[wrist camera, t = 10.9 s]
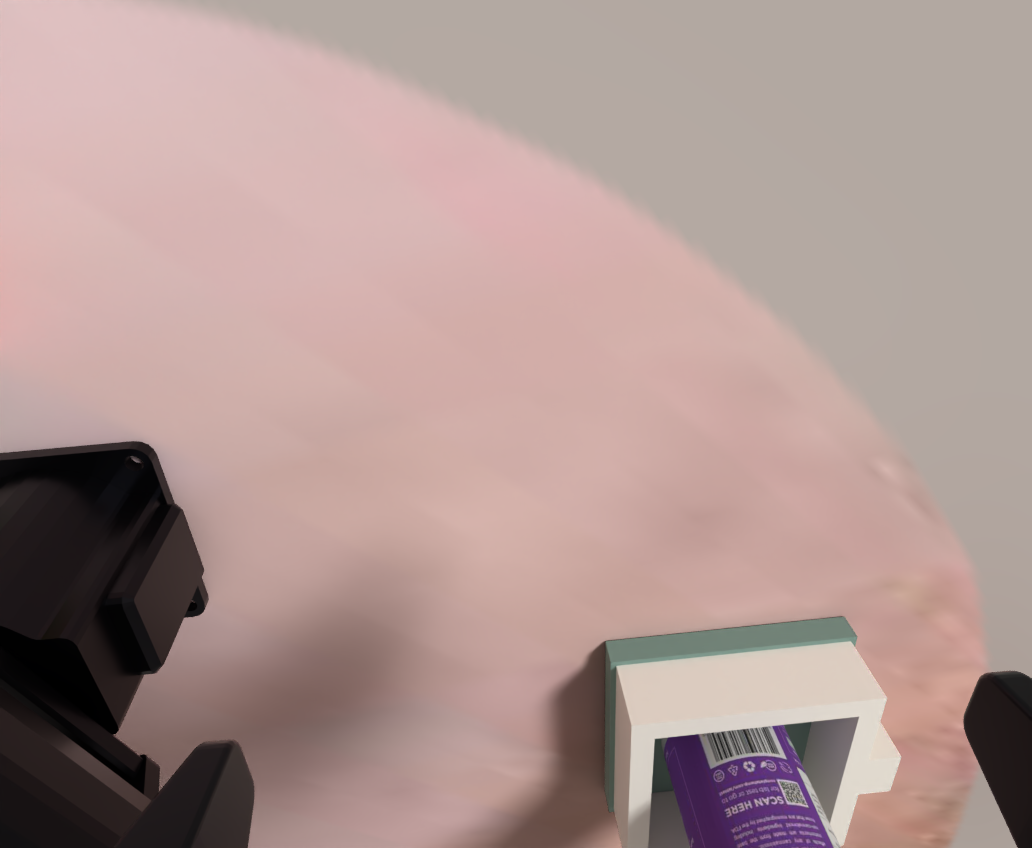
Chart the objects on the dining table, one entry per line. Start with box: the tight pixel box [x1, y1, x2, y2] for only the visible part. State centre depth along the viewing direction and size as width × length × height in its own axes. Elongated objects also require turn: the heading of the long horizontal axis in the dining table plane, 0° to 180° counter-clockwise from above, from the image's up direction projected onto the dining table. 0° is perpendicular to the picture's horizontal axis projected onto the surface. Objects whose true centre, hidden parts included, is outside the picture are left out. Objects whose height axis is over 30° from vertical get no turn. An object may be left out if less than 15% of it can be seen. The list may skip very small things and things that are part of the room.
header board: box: [605, 617, 901, 848], centre depth 28 cm, size 10×9×4 cm
